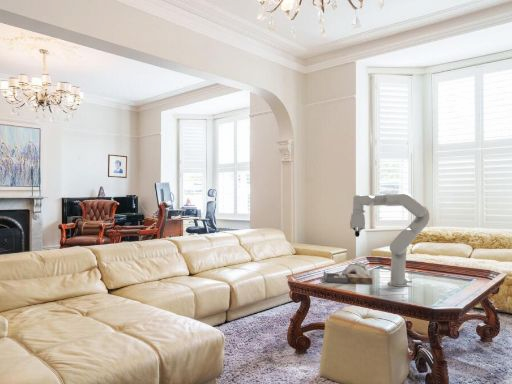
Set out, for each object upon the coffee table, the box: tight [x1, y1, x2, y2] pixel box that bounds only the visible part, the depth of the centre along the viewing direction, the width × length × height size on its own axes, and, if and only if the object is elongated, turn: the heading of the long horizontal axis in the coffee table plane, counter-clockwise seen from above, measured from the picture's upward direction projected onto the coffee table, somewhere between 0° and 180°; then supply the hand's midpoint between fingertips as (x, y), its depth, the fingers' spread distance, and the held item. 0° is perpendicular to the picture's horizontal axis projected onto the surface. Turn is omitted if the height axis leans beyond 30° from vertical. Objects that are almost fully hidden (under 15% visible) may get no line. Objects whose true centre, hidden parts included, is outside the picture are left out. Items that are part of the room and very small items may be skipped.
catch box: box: [323, 270, 349, 284], centre depth 272 cm, size 15×14×5 cm
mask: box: [341, 260, 370, 276], centre depth 303 cm, size 20×9×30 cm
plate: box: [345, 273, 373, 285], centre depth 272 cm, size 16×12×4 cm
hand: (357, 236), depth 281 cm, fingers closed
